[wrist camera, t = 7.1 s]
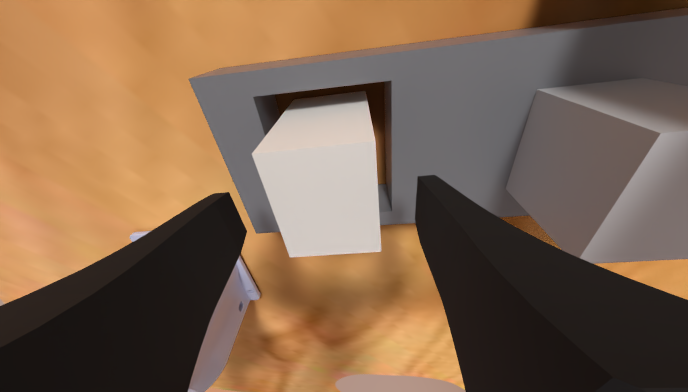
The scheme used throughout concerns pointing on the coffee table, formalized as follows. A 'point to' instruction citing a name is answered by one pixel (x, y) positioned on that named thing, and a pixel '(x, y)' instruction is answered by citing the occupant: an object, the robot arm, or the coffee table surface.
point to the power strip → (506, 127)
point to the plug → (323, 176)
